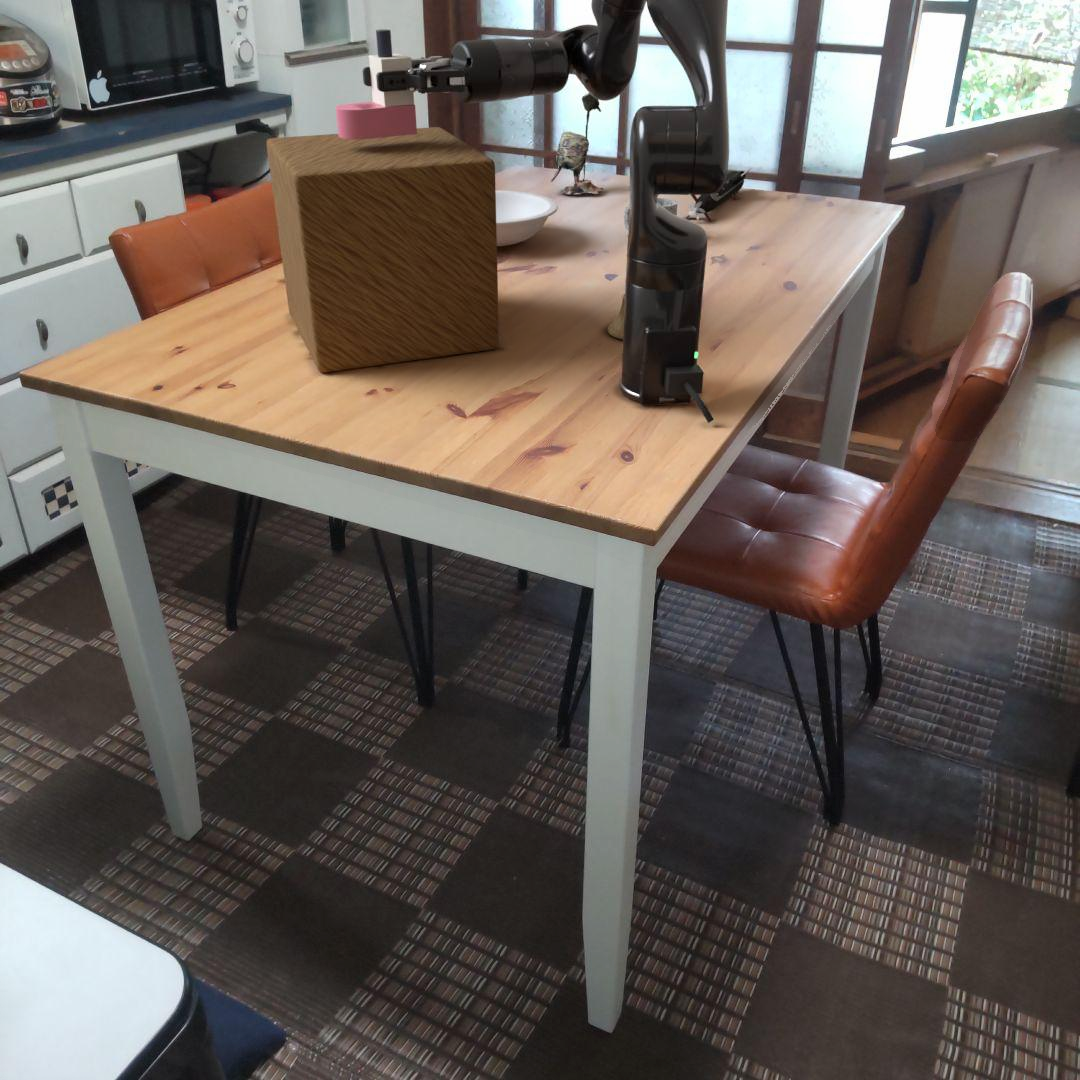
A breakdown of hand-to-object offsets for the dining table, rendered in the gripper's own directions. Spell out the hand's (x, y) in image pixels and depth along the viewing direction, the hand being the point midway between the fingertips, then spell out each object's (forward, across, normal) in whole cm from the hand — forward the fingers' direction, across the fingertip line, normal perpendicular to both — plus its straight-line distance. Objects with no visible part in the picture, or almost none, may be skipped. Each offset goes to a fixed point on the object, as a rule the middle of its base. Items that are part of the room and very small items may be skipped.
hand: (371, 79), depth 128 cm
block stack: (0, 0, +7) cm, 7 cm away
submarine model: (-85, -37, +34) cm, 99 cm away
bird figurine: (-65, -61, +34) cm, 96 cm away
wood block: (0, 0, +33) cm, 33 cm away
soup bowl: (-32, -35, +34) cm, 58 cm away
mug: (-59, -24, +34) cm, 72 cm away
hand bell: (-31, +17, +34) cm, 48 cm away
